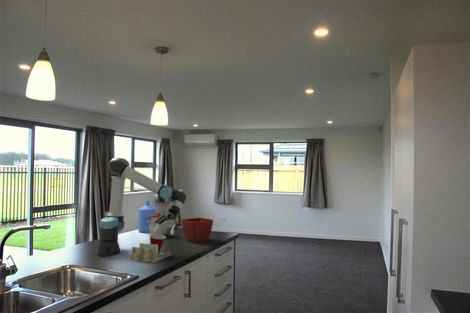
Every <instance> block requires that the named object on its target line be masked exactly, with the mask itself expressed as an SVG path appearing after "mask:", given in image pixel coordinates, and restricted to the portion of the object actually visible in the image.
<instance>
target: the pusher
mask: <svg viewBox="0 0 470 313" xmlns="http://www.w3.org/2000/svg"><path fill="white" fill-rule="evenodd" d="M138 248H147V249H153V257H156V256H158V245H154V244H150V243H144V242H139V247H138Z"/></svg>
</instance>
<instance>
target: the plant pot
mask: <svg viewBox="0 0 470 313" xmlns="http://www.w3.org/2000/svg"><path fill="white" fill-rule="evenodd" d="M213 224H214V219H211V218H205V217H194V218H192V217H191V218H184V219H183V218H182V219H181V227H182V232H183V235H184V238H185V240H186V241H188V242H191V243H195V244H196V243H202V242H208V241H209V238H210V235H211V233H212V228H213Z"/></svg>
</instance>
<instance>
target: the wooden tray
mask: <svg viewBox="0 0 470 313" xmlns="http://www.w3.org/2000/svg"><path fill="white" fill-rule="evenodd" d="M131 252H132V253H131V254H130V260H131V261H139V262H145V263H152V264H153V263H157V262H159V261H161V260H164V259H167V258H169V257H171V256H172V251H171V250H170V251H169V250H168V251H167V252H165V253H163V252H160V253H159V254H158V256H156V257H153V249H147V248H139V247H136V246H132V247H131Z"/></svg>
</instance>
